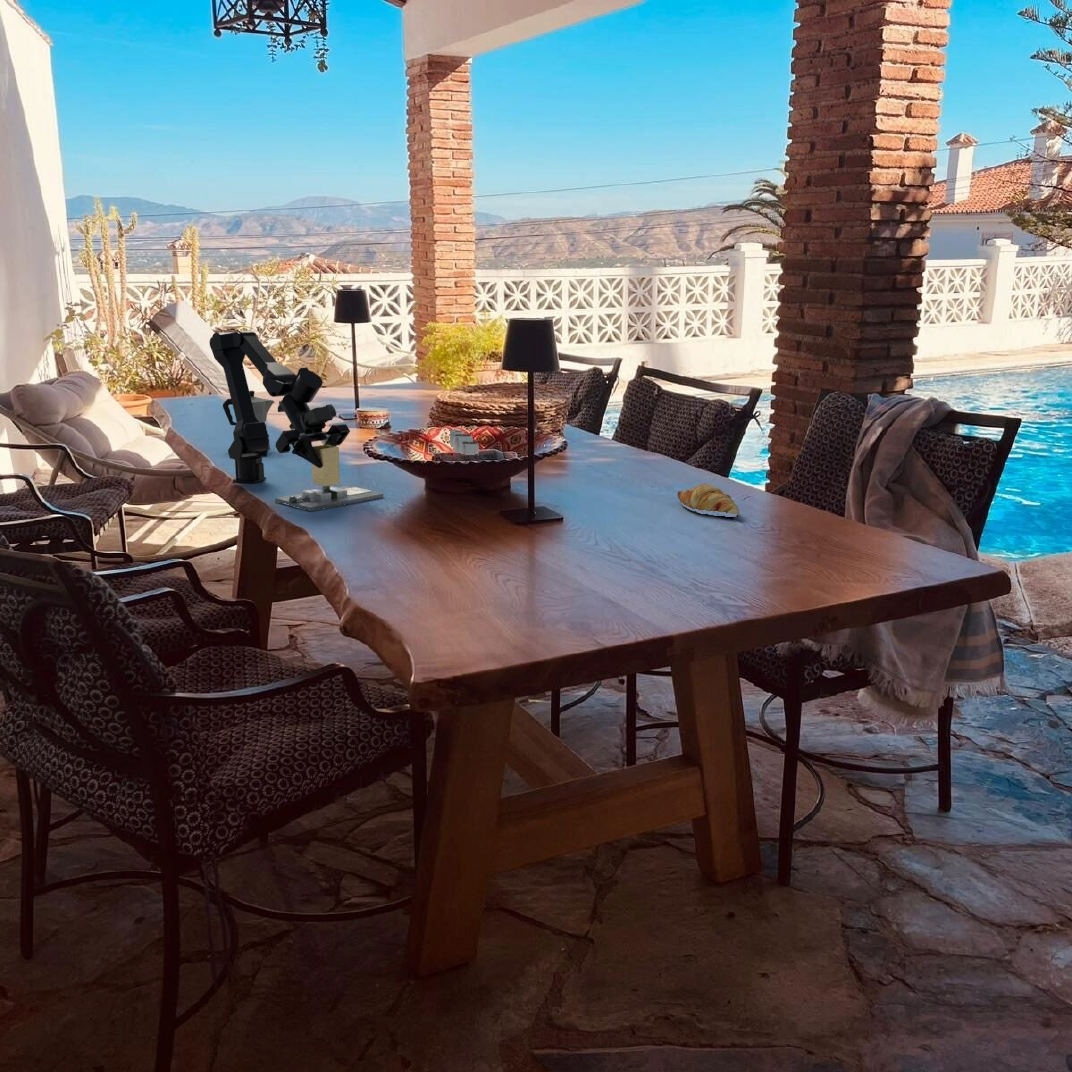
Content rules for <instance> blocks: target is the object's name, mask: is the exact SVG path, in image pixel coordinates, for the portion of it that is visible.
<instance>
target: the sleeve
mask: <svg viewBox="0 0 1072 1072" xmlns="http://www.w3.org/2000/svg"><path fill="white" fill-rule="evenodd" d="M312 447H313V449H314V450H315V452H316V454H317V456H318V458H319V459H320V462H321V464H322V467H321V468H318V467H316V466H315V465H313V464H312V463H311V473H312V475H311V477H312V484H314V485H318V486H321V487H322V486H329V485H330V486H333V485H339V484H341V483H340V482H341V481H340V449H339V446H337V447H336V446H331V445H323V444H322V445H314V446H313V445H312Z"/></svg>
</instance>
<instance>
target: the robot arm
mask: <svg viewBox="0 0 1072 1072" xmlns="http://www.w3.org/2000/svg"><path fill="white" fill-rule="evenodd" d="M209 347H210V349H211V351H212V355H213V358H214V360H215V361H216V362H217V363H218V364H219V365H220V366H221V367H222V368H223V371H224V375H225V381H226V384H227V388H228V393H229V397H230V399H231V401H232V405H231V406H232V408H233V411H234V415H235V416H234V417H235V420H236V425H234V429H233V432H232V434H233V441H232V443H231V444H230V446H229V448H228V450H227V453H228V456H229V459H232V460H234V467H235V478H233V479H232V482H236V483H248V484H256V483H259V482H262V481H264V480H267V477H265V465H264V462H263V457H264V458H266V457H268V453H269V452H268V451H269V449H268V447H269V444H270V435H269V433H268V429H267V423H266V422H265V423H264V422H260V421H259V420H258V419H257V418H256V416H255V412H254V408H253V404H252V400H251V396H250V392H249V391H250V389H249V385H248V381H247V377H246V376H247V375H246V373H245V369H244V364H243V363H244V360H245V357H247V358H248V360H249V361H250V362H251V364H253V366H254V367H255V368H256V370H258V372H259V373H260V375H261V376H262V385H263V386H264V389H265V390H266V392H267V393H268V394H269V396H270V397H272V398H273V397H274V398H276V397H278V398H279V397H282V399H281V400H278V406H277V413H283V412H284V413H285V415H286V416H287V419H288V420H289V422H290V424H289V426H288V428H289V430H288V429H287V430H283V431H281V433H280V435H279V437H278V438H277V440H276V442H275V448H276V450H277V451H278V453H279V454H286V453H290V451H291V449H292V451H291V454H292V455H296V456H298V457H300V458H302V459H303V460H306V461H307V462H309V463H310V464H311V465H312V464H313V465H315V466H316V467H318V468H321V467H322V464H321V462H320V459H319V458H318V456H317V454H316V452H315V450H314V449H313V443H317V442H321V444H322V445H331V446H336V447H339V446H340V445H342V444H343V443H344V441H345V440H346V439H347V437H348V436H349V434H350V432H351V431H350V428H349V426H348V425H347V424H346V423H339V424H338V423H337V424H332V425H331V426H330V427H329V429H328V431H326V430H324V431H323V429H325V428H326V427H327V423H328V422H329V421H332V420H333V419H334V418H335V417H337V410H336V408H335V406H333V404H332V403H331V404H325V406H322V407H319V406H318V407H313V408H312V409H311V408H310V406H309V405H308V403H311V402H312V401H313V400H314V398H315V397H316V395H317V394H318V393H319V390H320V389H321V387H322V386H323V383H324V382H323V379H322V377H321V376H320V375H319V374H317V373H316V372H314V371H312V370H310V369H309V368H308V367H306V366H305V367H299V369H298V371H297V374H295V373H294V372H293V370H291V369H290V368H289V367H288V366H287V367H286V366H284V365H282V364H280V363H279V362H278V361H277V360H276V359H275V358H274V357H273V356H272V354H271V353H270V352H269V350H268V349H267V348H266V347H265V345H263V343H262V342H261V341H260V339H258V335H257V333H256V332H255V331H253V330H237V331H224V332H223V331H221V332H219V331H218V332H217V331H216V332H214V333H213V334H212V336H211V337H210V339H209ZM291 446H292V447H291Z"/></svg>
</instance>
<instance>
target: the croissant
mask: <svg viewBox="0 0 1072 1072" xmlns="http://www.w3.org/2000/svg"><path fill="white" fill-rule="evenodd" d="M677 499H678V500H679V503H680V502H681V503H683V504H684V505H686V506H688V507H690V508H692V509H698V510H706V511H718V512H726V513H731V514H739V515H740V509H739V508H738V505H737V504H736V503H735V501H734V499H732V497H731V496H730V495H729V494H726V493H724V492H723V491H722V489H720V488H719V487H716V486H715V485H712V484H707V483H701V484H699V485H697V486H696V487H692V488H691V489H685V490H683V491H677ZM681 503H680V504H681Z"/></svg>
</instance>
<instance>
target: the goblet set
mask: <svg viewBox="0 0 1072 1072" xmlns="http://www.w3.org/2000/svg"><path fill="white" fill-rule="evenodd" d="M445 430H446V429H445ZM449 431H450V445H451V447H454V451H455V453H461V454H465V455H475V454H478V453H479V452H480V446H479V442H477V441H474V440H473V435H472V434H469V433H463V430H459V429H456V428H454V430H449ZM479 454H480V453H479ZM479 454H478V455H479Z"/></svg>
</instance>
